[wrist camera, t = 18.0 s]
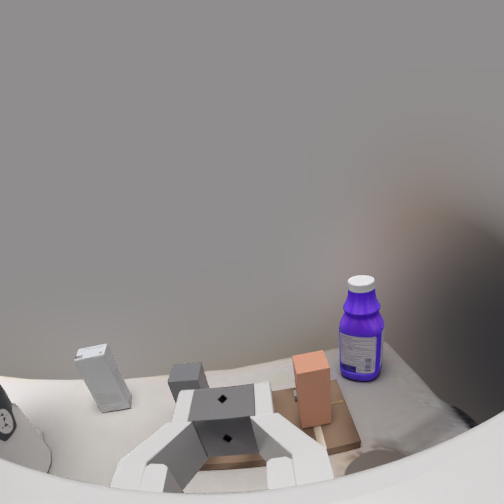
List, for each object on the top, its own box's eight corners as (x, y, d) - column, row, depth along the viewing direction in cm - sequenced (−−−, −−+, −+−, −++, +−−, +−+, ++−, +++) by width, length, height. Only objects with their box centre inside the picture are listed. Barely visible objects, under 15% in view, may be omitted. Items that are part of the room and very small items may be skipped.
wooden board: (166, 470, 33) (159, 459, 33) (181, 407, 47) (176, 395, 46) (360, 447, 33) (361, 435, 32) (336, 386, 46) (336, 373, 46)
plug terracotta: (302, 428, 37) (296, 374, 34) (298, 409, 41) (292, 355, 38) (331, 422, 37) (329, 367, 34) (325, 404, 41) (322, 350, 38)
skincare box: (132, 395, 51) (109, 341, 48) (131, 409, 47) (105, 354, 44) (103, 400, 50) (78, 347, 46) (100, 414, 45) (73, 359, 42)
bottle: (385, 365, 48) (387, 273, 44) (376, 386, 44) (379, 288, 40) (347, 360, 53) (343, 271, 48) (335, 379, 48) (331, 285, 44)
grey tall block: (188, 433, 39) (167, 382, 36) (192, 415, 42) (173, 364, 40) (215, 431, 38) (197, 379, 36) (217, 413, 42) (201, 362, 40)
